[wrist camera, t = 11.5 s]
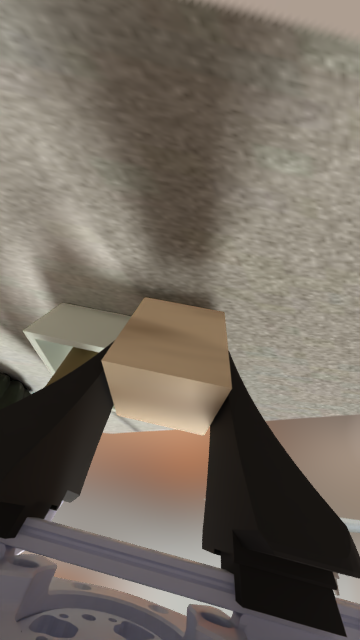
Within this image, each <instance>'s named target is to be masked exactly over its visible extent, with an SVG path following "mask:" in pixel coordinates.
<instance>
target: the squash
mask: <svg viewBox="0 0 360 640" xmlns="http://www.w3.org/2000/svg"><path fill="white" fill-rule="evenodd" d="M29 395H31V394H30V392H29V391H28V390H27V389H25V388H24V386H23V385H22V383H21V382H19V381H10V378H9V376H8V375H4V374H0V409H3V408H5V407H7V406H9V405H11V404H13V403H15V402H17V401H19V400H21V399H23V398H25V397H27V396H29Z"/></svg>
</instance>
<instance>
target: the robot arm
mask: <svg viewBox="0 0 360 640" xmlns="http://www.w3.org/2000/svg"><path fill="white" fill-rule="evenodd" d="M114 341H115V340H114ZM114 341H113V342H112V343H111V344H109V345H108V346H107V347H106V348H104V349H103V350H102V351H100V352H99V353H98V354H96V355H95V356H94V357H92V358H91V359H89V360H88V361H87V362H85V363H84V364H82V365H81V366H79V367H78V368H76V369H75V370H73V371H72V372H70V373H68V374H67V375H65V376H64V377H62V378H60V379H58V380H57V381H55V382H53V383H51V384H50V385H48V386H46V387H44V388H43V389H41V390H39V391H37V392H35V393H33V394H31V395H29V396H27V397H25V398H23V399H21V400H19V401H17V402H15V403H13V404H11V405H9V406H7V407H5V408H3V409H0V640H360V604H358V603H354V602H350V601H347V600H343V599H339V598H335V596H334V592H333V590H337V589H338V587H337V584H336V581H335V577H334V574H333V572H336V573H340V574H345V575H348V576H352V577H356V578H360V556H359V554H358V551H357V549H356V546H355V544H354V542H353V539H352V537H351V535H350V533H349V531H348V528H347V526H346V525H345V524H344V523H343V522H342V520H341V519H340V518H339V517H338V516H337V515H336V513H335V512H334V511H333V510H332V509H331V507H330V506H329V505H328V504H327V503H326V502H325V500H324V499H323V498H322V497H321V496H320V494H319V493H318V492H317V491H316V490H315V488H314V487H313V486H312V485H311V483H310V482H309V481H308V480H307V478H306V477H305V476H304V474H303V473H302V472H301V471H300V469H299V468H298V467H297V466H296V464H295V463H294V461H293V460H292V459H291V457H290V456H289V455H288V454H287V452H286V451H285V449H284V448H283V446H282V445H281V444H280V442H279V441H278V440H277V438H276V437H275V435H274V434H273V432H272V431H271V429H270V428H269V426H268V425H267V423H266V422H265V420H264V419H263V417H262V416H261V414H260V412H259V411H258V409H257V407H256V406H255V404H254V402H253V400H252V399H251V397H250V395H249V393H248V391H247V389H246V387H245V385H244V383H243V381H242V379H241V377H240V375H239V373H238V371H237V369H236V367H235V364H234V362H233V360H232V357H231V355H230V352H229V351H228V353H229V363H230V373H231V383H232V389H231V391H230V393H229V394H228V396H227V398H226V399H225V401H224V403H223V404H222V406H221V408H220V409H219V411H218V413H217V414H216V416H215V418H214V419H213V421H212V423H211V424H210V447H209V462H208V476H207V490H206V502H205V513H204V523H203V537H202V538H203V539H202V549H204V550H207V551H209V552H211V553H213V554H217V555H220V556H221V569H220V568H216V567H213V566H210V565H206V564H202V563H199V562H195V561H192V560H188V559H184V558H180V557H177V556H173V555H170V554H166V553H163V552H159V551H155V550H152V549H148V548H145V547H141V546H137V545H134V544H130V543H127V542H123V541H119V540H116V539H112V538H108V537H105V536H101V535H98V534H94V533H91V532H87V531H83V530H80V529H76V528H72V527H69V526H65V525H62V524H58V523H54V522H51V521H52V519H53V517H54V516H55V514H56V511H57V510H58V509H59V508H60V506H61V505H62V503H63V501H66V502H72V501H73V500H75V499H76V498H77V497H78V496H80V493H81V490H82V487H83V484H84V481H85V478H86V476H87V473H88V470H89V467H90V464H91V461H92V459H93V456H94V454H95V451H96V448H97V445H98V443H99V440H100V437H101V435H102V433H103V430H104V427H105V425H106V422H107V420H108V418H109V415H110V413H111V410H112V408H113V406H114V403H113V399H112V396H111V392H110V389H109V385H108V382H107V379H106V375H105V372H104V368H103V365H102V361H101V360H102V359H103V357H104V356H105V354H106V353H107V351H108V350H109V348H110V347H111V346H112V344H113V343H114ZM23 551H29V552H32V553H36V554H39V555H35V554H23V555H22V554H21V555H19V554H20V553H22V552H23ZM40 555H43V556H46V557H50V558H53V559H56V560H60V561H63V562H67V563H70V564H74V565H77V566H81V567H84V568H87V569H91V570H94V571H98V572H101V573H104V574H108V575H112V576H115V577H118V578H122V579H125V580H129V581H132V582H136V583H139V584H142V585H146V586H149V587H153V588H156V589H160V590H163V591H167V592H170V593H173V594H177V595H180V596H184V597H187V598H191V599H194V600H197V601H201V602H205V603H208V604H211V605H215V606H218V607H222V608H225V609H228V610H232V611H233V615H232V617H231V618H230V617H229V616H228V615H226V614H225V613H224V612H222V611H221V610H219V609H217V608H214V607H211V606H205V605H194V604H189V606H188V607H187V616H185V615H182V614H180V613H177V612H175V611H173V610H170V609H168V608H165V607H162V606H160V605H157V604H155V603H153V602H150V601H148V600H145V599H142V598H140V597H137V596H134V595H131V594H128V593H124V592H121V591H118V590H114V589H110V588H106V587H102V586H97V585H93V584H87V583H82V582H77V581H72V580H66V579H62V578H57V577H53V576H54V573H55V571H56V568H57V565H56V564H55V563H53V562H52V561H50V560H49V559H47V558H45V557H43V556H40Z"/></svg>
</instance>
